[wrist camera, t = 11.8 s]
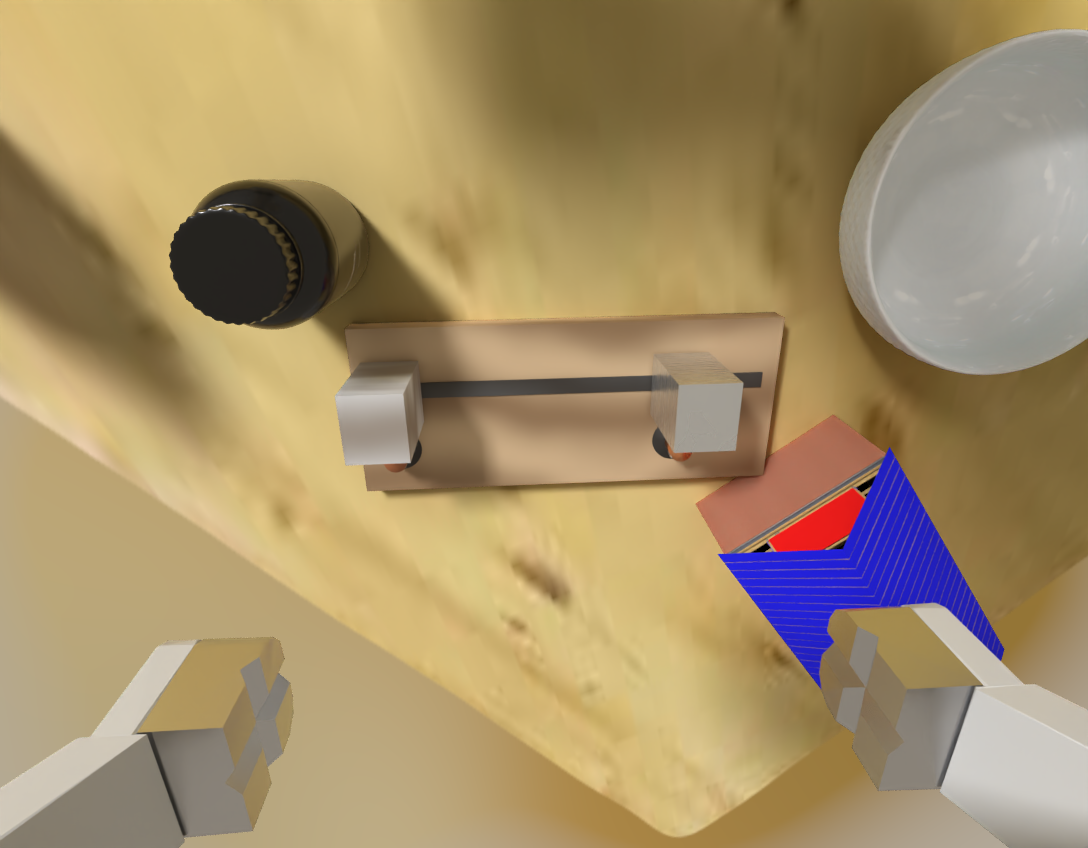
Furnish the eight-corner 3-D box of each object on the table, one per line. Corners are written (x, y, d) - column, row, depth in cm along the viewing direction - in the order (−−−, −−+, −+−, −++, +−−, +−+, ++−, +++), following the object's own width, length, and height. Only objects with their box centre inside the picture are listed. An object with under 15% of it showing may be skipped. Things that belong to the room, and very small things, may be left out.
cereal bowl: (1123, 203, 38) (1251, 210, 32) (904, 393, 42) (978, 433, 36) (981, -21, 33) (1098, -68, 27) (748, 218, 37) (800, 229, 31)
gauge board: (350, 323, 38) (314, 359, 31) (774, 312, 39) (835, 344, 32) (371, 480, 42) (344, 544, 35) (754, 465, 44) (804, 523, 36)
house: (834, 407, 42) (945, 487, 32) (942, 589, 49) (1064, 706, 38) (688, 501, 45) (746, 606, 34) (811, 663, 51) (892, 794, 41)
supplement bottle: (383, 291, 37) (332, 342, 26) (272, 305, 37) (174, 362, 26) (357, 171, 35) (288, 170, 24) (237, 186, 35) (112, 192, 24)
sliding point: (653, 354, 38) (678, 384, 33) (708, 352, 38) (743, 382, 33) (648, 451, 41) (670, 495, 35) (699, 449, 41) (730, 493, 35)
